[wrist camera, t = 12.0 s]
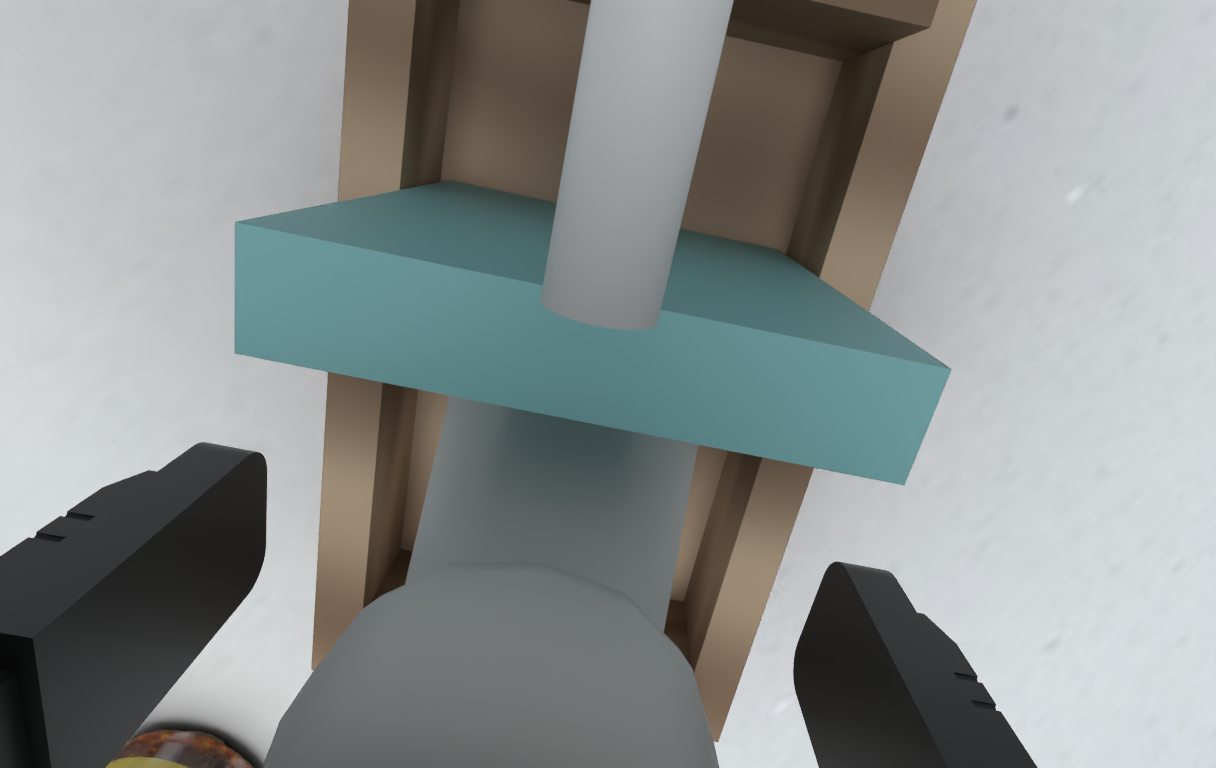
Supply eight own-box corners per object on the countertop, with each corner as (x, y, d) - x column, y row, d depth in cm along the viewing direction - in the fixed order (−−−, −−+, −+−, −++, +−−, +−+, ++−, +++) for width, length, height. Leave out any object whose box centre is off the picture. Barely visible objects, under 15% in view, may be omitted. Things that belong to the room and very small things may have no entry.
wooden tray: (425, -75, 15) (317, -193, 10) (893, 31, 15) (1028, -27, 10) (368, 575, 21) (283, 716, 16) (702, 637, 21) (725, 793, 16)
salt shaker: (631, 231, 16) (643, 510, 4) (727, 423, 18) (948, 1041, 5) (432, 336, 17) (-59, 814, 5) (540, 508, 19) (376, 1184, 7)
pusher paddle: (484, -120, 13) (122, -787, 4) (859, -33, 14) (1398, -448, 4) (442, 243, 16) (165, 390, 6) (760, 308, 16) (950, 541, 7)
